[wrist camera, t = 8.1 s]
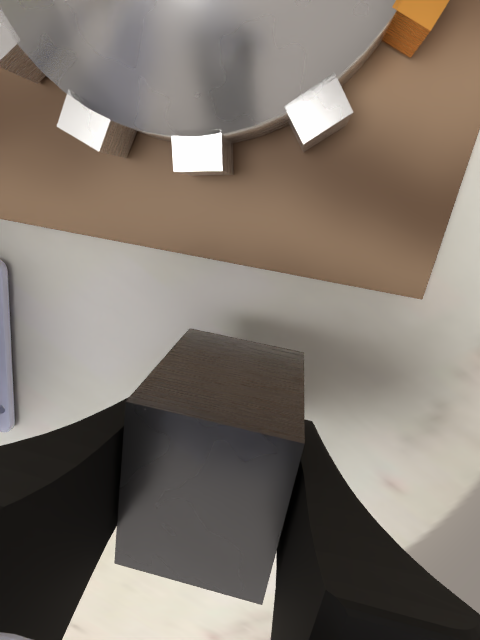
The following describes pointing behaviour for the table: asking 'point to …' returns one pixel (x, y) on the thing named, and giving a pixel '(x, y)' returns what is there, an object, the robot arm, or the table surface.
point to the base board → (275, 174)
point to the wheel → (204, 66)
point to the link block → (211, 463)
